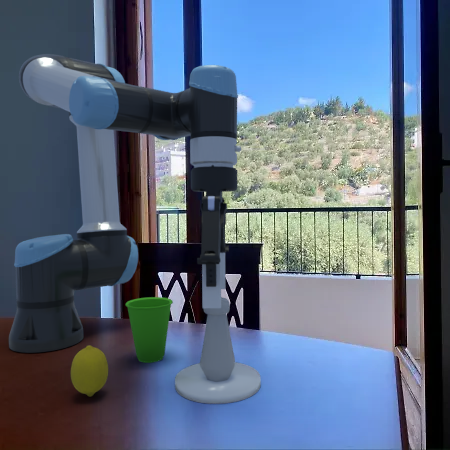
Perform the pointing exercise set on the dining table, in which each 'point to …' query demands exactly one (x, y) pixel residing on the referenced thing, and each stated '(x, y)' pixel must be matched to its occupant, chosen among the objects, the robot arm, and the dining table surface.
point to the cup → (149, 326)
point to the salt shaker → (217, 344)
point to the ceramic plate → (217, 385)
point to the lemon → (89, 370)
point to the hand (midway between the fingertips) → (215, 297)
